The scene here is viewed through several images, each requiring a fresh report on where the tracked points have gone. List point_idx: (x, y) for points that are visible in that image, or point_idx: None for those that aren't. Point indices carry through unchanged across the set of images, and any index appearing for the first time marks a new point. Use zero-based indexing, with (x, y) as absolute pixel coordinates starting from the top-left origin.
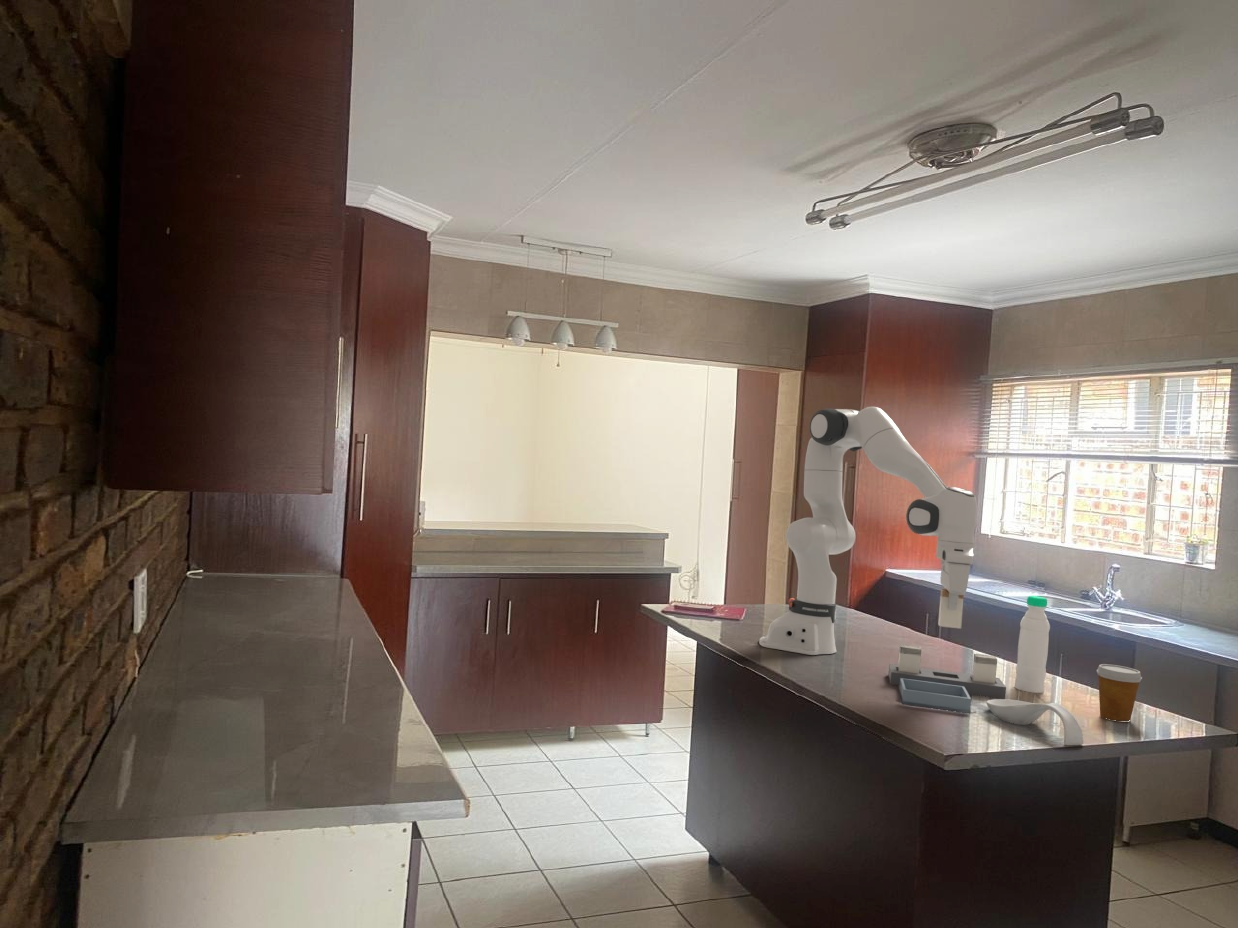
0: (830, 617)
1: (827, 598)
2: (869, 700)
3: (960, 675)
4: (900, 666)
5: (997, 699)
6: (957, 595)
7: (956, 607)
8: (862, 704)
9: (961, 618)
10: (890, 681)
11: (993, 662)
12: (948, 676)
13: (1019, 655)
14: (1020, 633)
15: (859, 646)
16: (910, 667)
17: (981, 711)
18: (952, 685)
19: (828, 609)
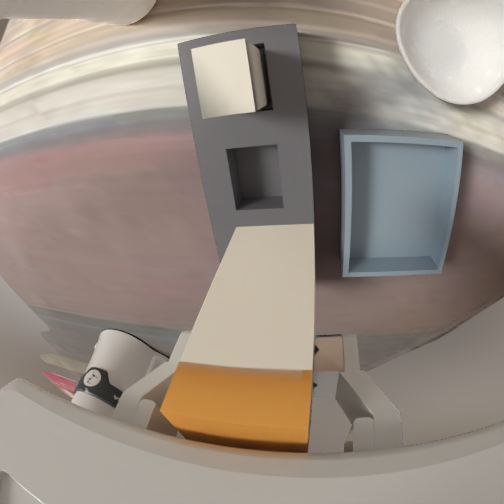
0: (109, 382)
1: (106, 414)
2: (423, 300)
3: (228, 140)
4: None
5: (412, 66)
6: (399, 426)
7: (356, 343)
8: (447, 307)
9: (313, 257)
10: None
11: (249, 51)
12: (231, 168)
13: (88, 6)
14: (32, 8)
15: (55, 296)
16: None
17: (415, 101)
18: (351, 165)
19: (112, 398)
